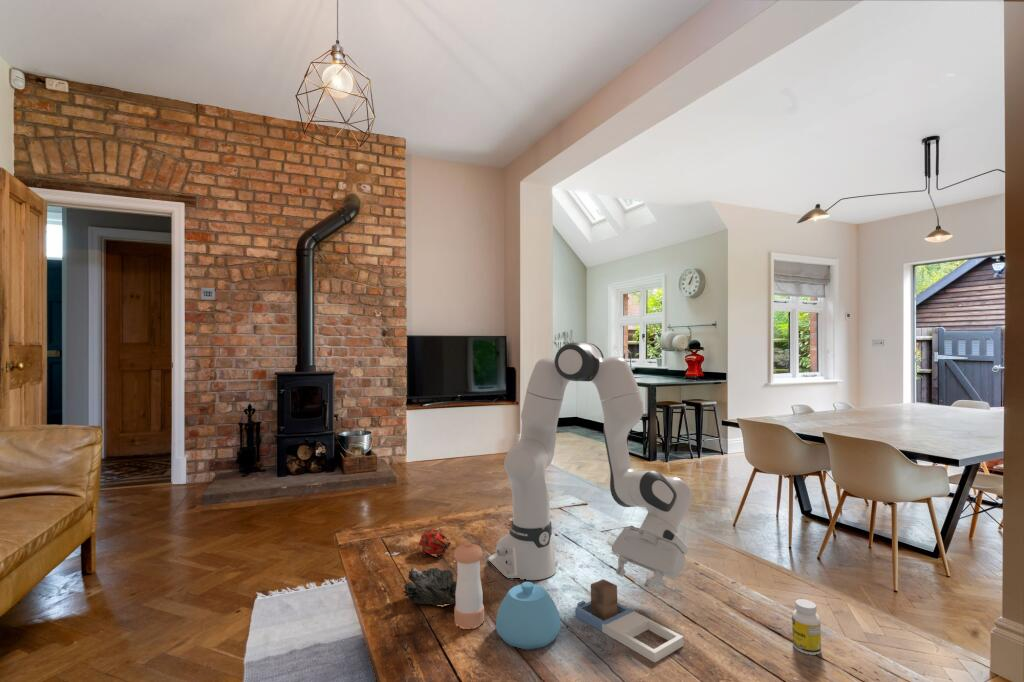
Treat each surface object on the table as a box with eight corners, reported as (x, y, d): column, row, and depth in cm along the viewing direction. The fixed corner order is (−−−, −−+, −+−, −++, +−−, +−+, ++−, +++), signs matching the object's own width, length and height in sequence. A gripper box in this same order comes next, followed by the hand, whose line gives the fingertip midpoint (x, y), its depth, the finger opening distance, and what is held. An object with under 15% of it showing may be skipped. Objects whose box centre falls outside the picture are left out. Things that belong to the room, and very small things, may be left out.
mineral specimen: (399, 595, 128) (414, 553, 134) (398, 600, 139) (412, 560, 145) (458, 614, 129) (470, 571, 134) (452, 617, 140) (464, 577, 145)
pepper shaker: (456, 613, 130) (455, 537, 130) (485, 613, 129) (484, 536, 130) (452, 629, 122) (451, 548, 122) (483, 629, 122) (481, 548, 122)
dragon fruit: (424, 552, 172) (446, 568, 164) (407, 544, 167) (430, 559, 159) (437, 529, 175) (460, 543, 167) (422, 520, 170) (445, 534, 162)
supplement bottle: (787, 642, 115) (786, 598, 115) (810, 640, 115) (809, 596, 115) (803, 656, 110) (802, 610, 110) (827, 655, 110) (826, 608, 110)
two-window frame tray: (573, 614, 128) (573, 604, 128) (601, 602, 134) (601, 592, 134) (654, 662, 108) (654, 651, 108) (683, 645, 114) (683, 634, 114)
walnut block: (591, 617, 127) (590, 584, 127) (604, 611, 130) (603, 579, 130) (604, 624, 123) (604, 591, 124) (617, 618, 126) (617, 585, 126)
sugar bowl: (511, 660, 110) (510, 605, 110) (486, 625, 124) (485, 577, 124) (572, 642, 116) (571, 591, 116) (542, 612, 130) (541, 565, 130)
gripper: (621, 517, 146) (597, 561, 140) (683, 538, 129) (659, 589, 123) (632, 530, 148) (609, 573, 142) (694, 552, 132) (671, 602, 126)
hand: (633, 581), depth 133 cm, fingers open, 8 cm apart
